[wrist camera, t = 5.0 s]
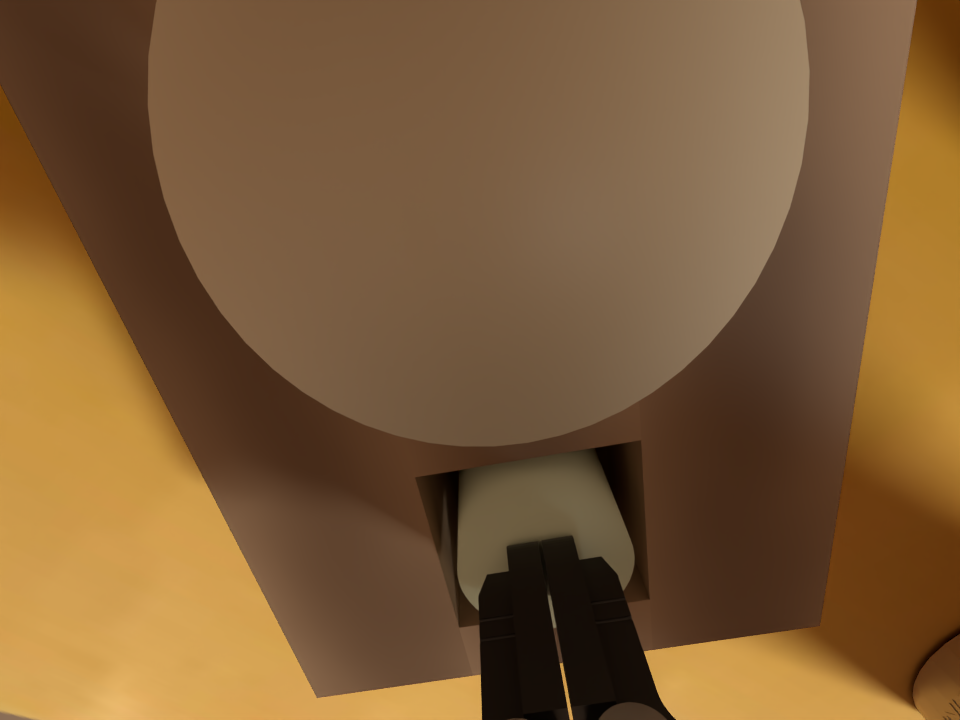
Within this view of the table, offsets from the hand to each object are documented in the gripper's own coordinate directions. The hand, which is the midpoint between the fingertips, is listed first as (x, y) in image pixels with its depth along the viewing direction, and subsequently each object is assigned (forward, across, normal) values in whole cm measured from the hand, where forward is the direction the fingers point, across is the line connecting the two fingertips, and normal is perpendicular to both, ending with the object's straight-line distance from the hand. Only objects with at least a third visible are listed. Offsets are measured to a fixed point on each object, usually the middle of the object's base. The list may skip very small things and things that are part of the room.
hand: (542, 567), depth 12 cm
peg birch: (+2, 0, -9) cm, 9 cm away
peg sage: (+7, 0, 0) cm, 7 cm away
